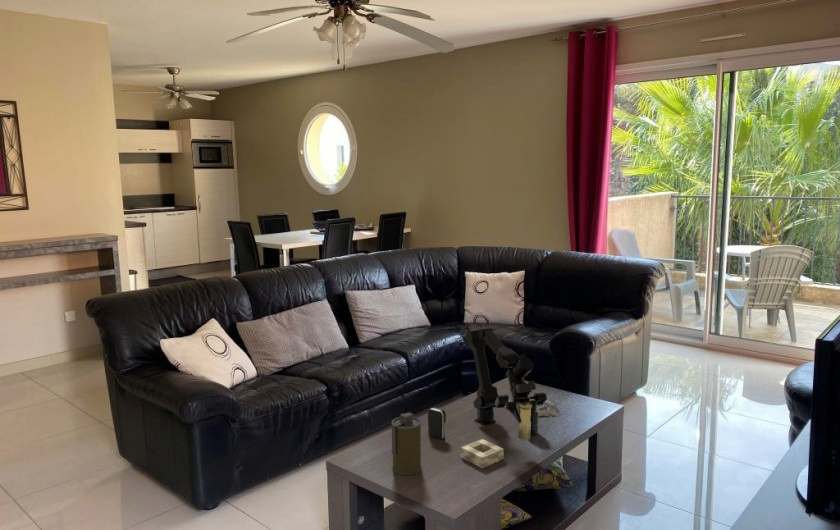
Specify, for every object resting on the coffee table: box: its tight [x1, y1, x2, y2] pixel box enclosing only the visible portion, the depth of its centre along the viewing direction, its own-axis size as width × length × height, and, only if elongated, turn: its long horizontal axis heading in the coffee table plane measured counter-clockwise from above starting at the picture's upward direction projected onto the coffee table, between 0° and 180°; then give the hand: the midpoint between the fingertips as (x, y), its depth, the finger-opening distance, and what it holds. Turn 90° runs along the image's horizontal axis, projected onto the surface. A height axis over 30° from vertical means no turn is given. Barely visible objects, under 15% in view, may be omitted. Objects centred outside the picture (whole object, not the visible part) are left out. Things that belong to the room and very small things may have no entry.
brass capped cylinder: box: [517, 401, 532, 441], centre depth 225 cm, size 5×5×13 cm
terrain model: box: [516, 400, 561, 418], centre depth 269 cm, size 20×15×3 cm
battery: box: [427, 406, 447, 440], centre depth 243 cm, size 7×4×11 cm, turn 53°
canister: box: [391, 412, 422, 476], centre depth 216 cm, size 11×10×20 cm
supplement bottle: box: [530, 407, 540, 437], centre depth 245 cm, size 7×7×12 cm
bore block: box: [460, 438, 505, 469], centre depth 225 cm, size 11×11×4 cm
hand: (525, 421), depth 224 cm, fingers closed on brass capped cylinder, 4 cm apart
